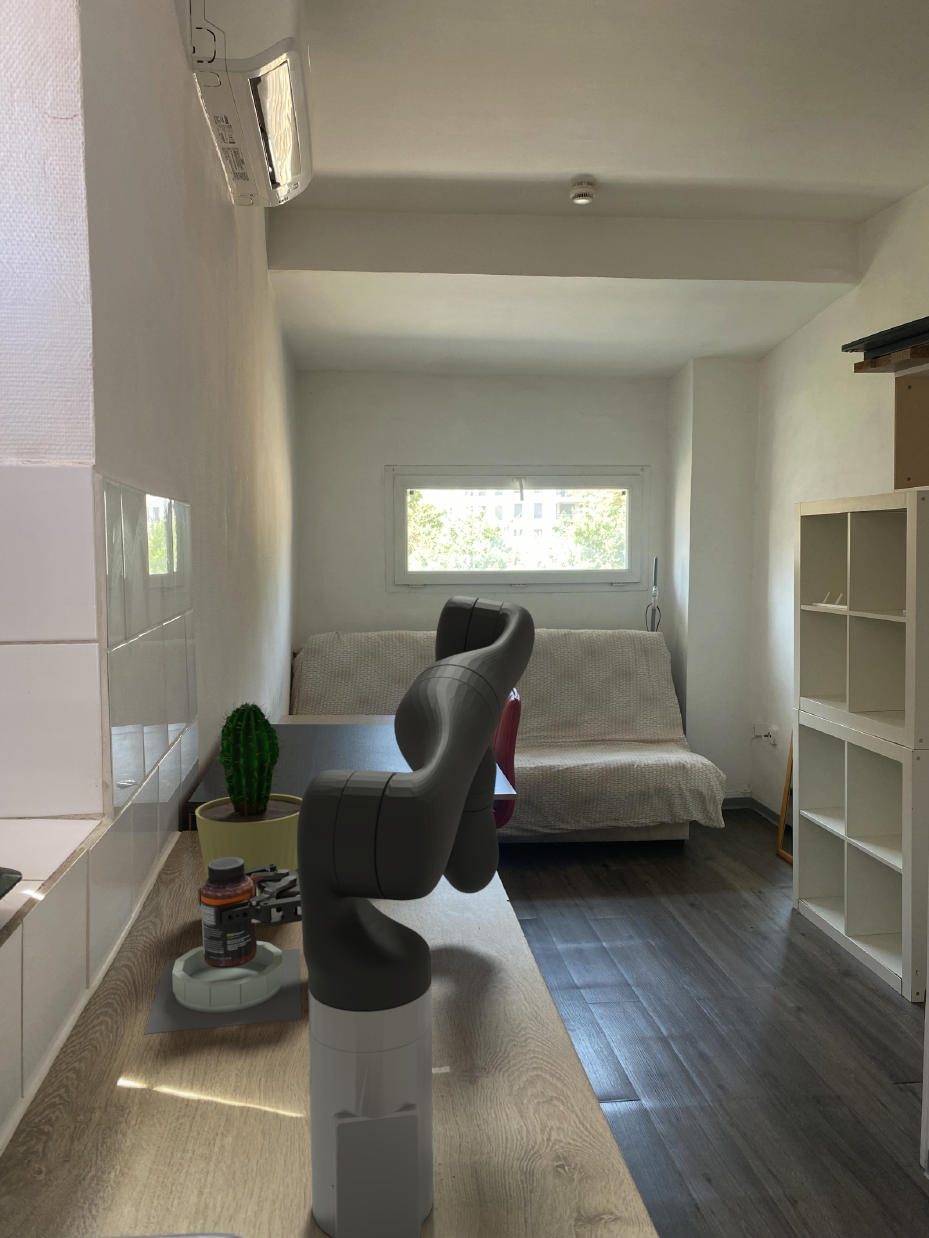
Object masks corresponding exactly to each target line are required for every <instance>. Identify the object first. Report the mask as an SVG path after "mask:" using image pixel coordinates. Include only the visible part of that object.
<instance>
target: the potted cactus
mask: <svg viewBox="0 0 929 1238" xmlns="http://www.w3.org/2000/svg"><path fill="white" fill-rule="evenodd" d="M265 704H266V702H264V704H263V705H265ZM232 705H233V706H235V703H232ZM267 709H268V708H267V707H264V708H263V707H262V705H258V704H257V703H256V700H254V701H253V703H251V704H250V702H245V703H243V701H241V704H240V705H239V706H238V707H234V708H232V709H229V710H230V712H231V713H230V712H229V711H228V710H227V711H226V710H225V712H227V713H228V714H229V715H228V714H226V713H225V712H224V714H225V716H226V717H225V716H223V715H221V717H222V719H223V720H222V719H219V720H220V721H221V722H222V723H223V724H222V723H221V722H218V726H219V728H221V730H220V736H219V735H218V736H214V737H216V738H217V737H218V738H219V741H220V743H214V744H215V745H217V746H218V748H219V750H220V751H219V750H218V752H216V754H214V755H215V758H216V760H219V762H218V763H216V765H218V766H223V772H224V773H219V774H217V777H218V776H222V777H224V779H223V780H221V781H219V783H220V782H224V781H225V784H223V785H222V783H221V784H220V785H221V786H220V785H219V788H221V789H222V791H224V790H226V792H227V793H225V795H228V796H227V797H222V798H217V799H213V800H211V801H208V802H206V803H204V804H202V805H201V804H200V806H198V807H197V808H195V811H194V813H195V816H196V817H195V818H196V820H195V821H196V827H197V832H198V837H199V844H200V849H201V855H202V860H203V866H204V871H205V878H206V879H205V880H207V879H208V877H209V876H208V865H209V863H210V862H212V861H213V860H216V859H219V858H225V857H237V858H241V859H243V860H244V869H245V870H247V869H251V868H255V867H259V866H263V865H267V864H270V863H275V864H277V870H280V869H287V870H289V871H290V870H294V871H295V870H297V869H298V861H297V824H298V816H299V810H300V805H301V801H302V798H303V797H302V798H301V797H298V796H294V795H289V794H281V793H280V794H279V793H274V792H273V791H272V786H273V787H274V786H275V787H278V786H279V785H280V784H279V783H278V785H277V783H275V782H273V781H274V779H275V778H279V776H277V775H276V773H277V772H278V770H277V768H279V769H280V770H282V768H281V767H279V766H277V763H280V762H279V761H281V760H282V757H283V756H282V755H281V754H282V753H283V749H284V748H285V747H286V745H283V746H279V745H280V743H283V742H284V741H286V739H285V740H279V737H278V736H279V734H280V733H281V731H279V732H277V730H276V729H275V727H276V725H275V726H274V725H273V723H271V720H272V714H270V712H268V711H267ZM269 718H270V719H269ZM224 720H225V721H224ZM273 726H274V727H273ZM215 745H214V746H215ZM218 755H219V756H218ZM209 759H211V758H209ZM281 762H282V763H283V761H281ZM276 766H277V768H276ZM224 787H226V788H224ZM248 877H249V876H248ZM258 894H259V895H260V889H259V890H258ZM256 924H261V921H260V922H257V923H256Z"/></svg>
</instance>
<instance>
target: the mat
mask: <svg viewBox="0 0 929 1238" xmlns="http://www.w3.org/2000/svg"><path fill="white" fill-rule="evenodd" d="M280 950H281V951H282V954H283V984H282V987H281V989H280V991H279V992H278V993H277V994H276V995H275V996H273V997H272V998H270V999H269V1000H267V1001H265V1002H263V1003H261V1004H259V1005H256V1006H253V1007H250V1008H247V1009H243V1010H238V1011H232V1012H223V1013H207V1012H198V1011H194V1010H190V1009H187V1008H185V1007H183V1006H181V1005H180V1004H179V1003H178V1002H177V1001H176V999H175V996H174V992H173V979H172V971H173V968H174V964H175V961H176V960H177V959H178V958H170V959H166V961H165V963H164V964H165V965H164V967H163V970H162V972H161V977H160V980H159V984H158V986H157V990H156V993H155V996H154V999H153V1003H152V1006H151V1009H150V1013H149V1016H148V1019H147V1022H146V1025H145V1028H144V1033H143V1035H150V1034H160V1033H161V1034H162V1033H163V1034H164V1033H170V1032H171V1033H173V1032H182V1031H193V1030H202V1029H211V1028H224V1027H233V1026H243V1025H244V1026H245V1025H253V1024H254V1025H255V1024H263V1023H265V1024H266V1023H275V1022H284V1021H294V1020H296V1021H297V1020H302V994H301V993H302V992H301V991H302V989H301V986H302V985H301V984H302V983H301V952H300V951H301V950H300V948H292V949H280Z"/></svg>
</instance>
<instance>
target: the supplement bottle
mask: <svg viewBox="0 0 929 1238" xmlns="http://www.w3.org/2000/svg"><path fill="white" fill-rule="evenodd" d="M244 872H245V869H244V860H243V859H241V858H237V857H225V858H219V859H216V860H213V861H212V862H210V863H209V865H208V876H209V877H208V879H205V880H206V881H204V882H203V884H202V886H201V887H200V888H201V906H200V909H201V911H200V912H201V926H202V927H201V929H202V946H203V951H204V959H205V962H206V963H207V964H208V965H210V966H213V967H217V968H231V967H236V966H241V965H243V964H245V963H247V962H249V961H251V960H252V959H253V958H254V957H255V956H256V953H257V941H258V939H257V938H258V937H257V923H252V922H250V920H249V921H245V922H240V923H236V924H232V925H227V926H223V927H217V926H216V925H215V923H214V908H215V907H216V906H218V905H222V904H227V903H232V902H237V901H241V900H246V899H247V900H248V903H250V899H251V898H254V897H255V894H254V884H253V881H252V879H251V878H250V877H248V876H246V875H245V873H244Z"/></svg>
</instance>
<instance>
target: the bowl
mask: <svg viewBox="0 0 929 1238" xmlns="http://www.w3.org/2000/svg"><path fill="white" fill-rule="evenodd" d="M281 950H282V949H280V948H278V947H277V946H275V945H274V944H272V943H271V942H267V941H260V940H257V953H256V956H255V957H254V958H253V959H252V960H251V961H249V962H247V963H245V964H243V965H241V966H236V967H231V968H217V967H213V966H210V965H208V964H207V963H206V962H205V959H204V951H203V945H201V946H198V947H197V946H196V947H195V948H192V949H191V950H189V951H187V952H186V953H184V954H183V955H181V956H180V957H177V958H176V959H177V960H176V961H175V964H174V968H173V971H172V979H173V992H174V996H175V999H176V1001H177V1002H178V1003H179V1004H180V1005H181V1006H183V1007H185V1008H187V1009H190V1010H194V1011H198V1012H207V1013H223V1012H232V1011H238V1010H243V1009H247V1008H250V1007H253V1006H256V1005H259V1004H261V1003H263V1002H265V1001H267V1000H269V999H270V998H272V997H273V996H275V995H276V994H277V993H278V992H279V991H280V989H281V987H282V984H283V954H282V951H281Z"/></svg>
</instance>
